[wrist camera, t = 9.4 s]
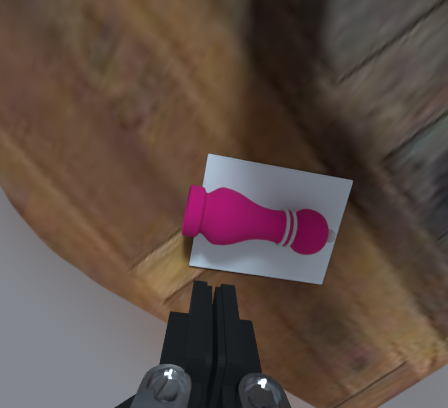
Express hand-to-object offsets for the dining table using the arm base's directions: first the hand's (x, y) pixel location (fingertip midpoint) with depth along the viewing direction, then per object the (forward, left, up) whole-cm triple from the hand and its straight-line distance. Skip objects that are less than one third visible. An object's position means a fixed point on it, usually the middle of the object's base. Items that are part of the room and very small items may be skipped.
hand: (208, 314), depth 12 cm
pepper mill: (+3, -2, -25) cm, 25 cm away
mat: (+5, +9, -29) cm, 31 cm away
